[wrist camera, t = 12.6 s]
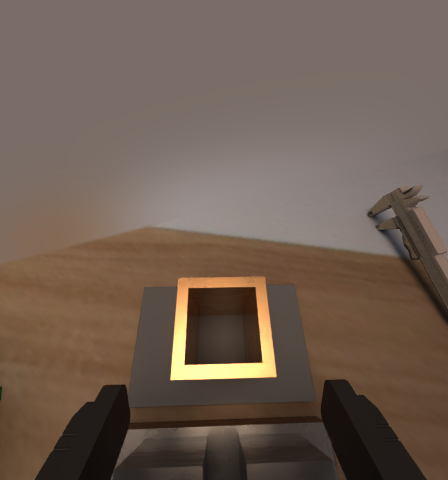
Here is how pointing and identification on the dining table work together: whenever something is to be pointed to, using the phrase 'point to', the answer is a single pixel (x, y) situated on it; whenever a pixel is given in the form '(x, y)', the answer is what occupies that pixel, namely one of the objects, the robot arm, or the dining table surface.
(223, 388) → the slate pad
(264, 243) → the dining table surface
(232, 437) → the grey slotted block
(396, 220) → the caliper
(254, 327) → the copper collar
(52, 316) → the dining table surface
